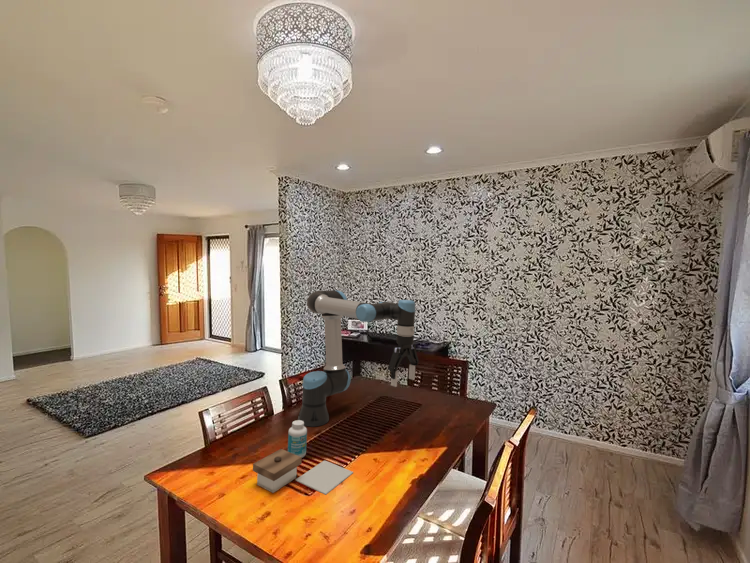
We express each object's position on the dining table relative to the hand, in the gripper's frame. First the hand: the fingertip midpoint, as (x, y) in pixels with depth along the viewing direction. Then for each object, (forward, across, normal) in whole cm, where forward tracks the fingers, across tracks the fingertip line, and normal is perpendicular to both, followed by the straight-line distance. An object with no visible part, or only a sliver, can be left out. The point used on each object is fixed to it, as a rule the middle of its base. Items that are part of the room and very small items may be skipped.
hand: (403, 382), depth 160 cm
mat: (+27, -41, +4) cm, 49 cm away
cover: (+22, -55, +14) cm, 61 cm away
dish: (+27, -55, +14) cm, 63 cm away
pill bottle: (+27, -39, +24) cm, 53 cm away
